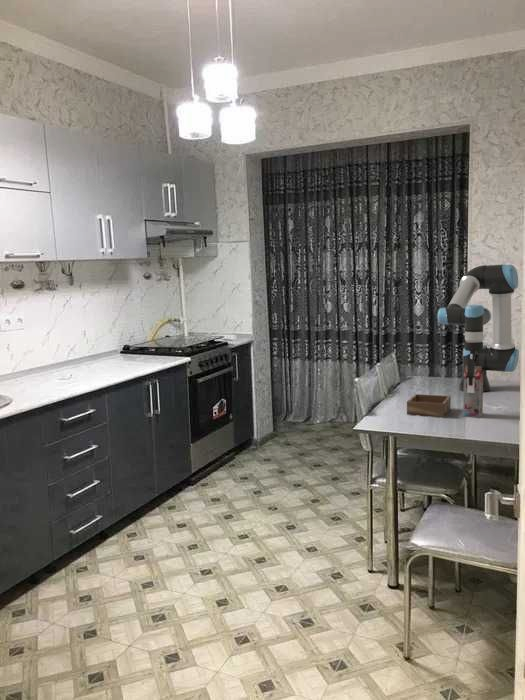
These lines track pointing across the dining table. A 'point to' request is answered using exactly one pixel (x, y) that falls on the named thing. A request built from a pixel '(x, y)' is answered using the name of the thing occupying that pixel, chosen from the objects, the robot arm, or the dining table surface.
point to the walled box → (429, 405)
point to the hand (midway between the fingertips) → (473, 389)
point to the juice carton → (474, 395)
